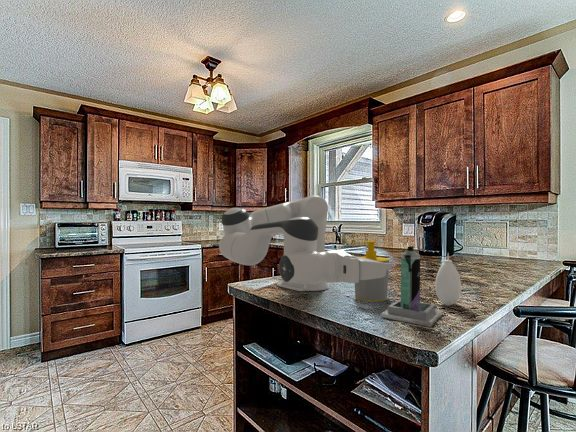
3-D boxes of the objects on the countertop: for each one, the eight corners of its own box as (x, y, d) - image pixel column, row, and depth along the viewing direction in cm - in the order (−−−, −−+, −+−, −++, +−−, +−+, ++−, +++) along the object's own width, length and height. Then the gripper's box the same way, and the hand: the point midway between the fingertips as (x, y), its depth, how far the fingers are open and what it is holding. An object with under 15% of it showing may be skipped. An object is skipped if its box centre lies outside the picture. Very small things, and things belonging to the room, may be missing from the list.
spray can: (421, 315, 96) (421, 247, 96) (401, 314, 97) (402, 246, 97) (418, 310, 101) (418, 245, 101) (399, 309, 103) (400, 245, 103)
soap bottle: (352, 293, 130) (352, 239, 130) (386, 294, 128) (387, 240, 128) (353, 301, 117) (353, 242, 117) (391, 303, 115) (391, 242, 115)
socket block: (381, 317, 98) (381, 306, 98) (396, 307, 109) (396, 297, 109) (430, 326, 90) (430, 315, 90) (442, 314, 101) (442, 304, 101)
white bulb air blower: (446, 300, 118) (446, 251, 118) (465, 306, 111) (466, 253, 111) (430, 303, 115) (430, 251, 115) (450, 308, 108) (450, 254, 108)
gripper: (322, 271, 101) (361, 269, 105) (357, 284, 82) (403, 281, 86) (322, 250, 101) (361, 249, 105) (357, 259, 82) (403, 257, 86)
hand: (380, 263), depth 96 cm, fingers open, 8 cm apart
